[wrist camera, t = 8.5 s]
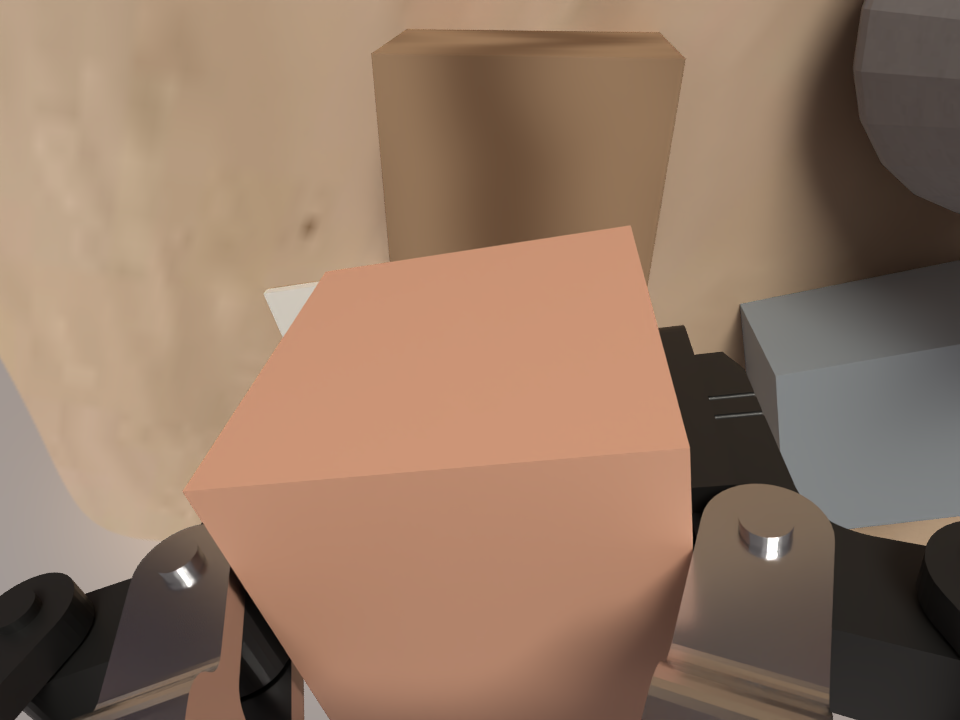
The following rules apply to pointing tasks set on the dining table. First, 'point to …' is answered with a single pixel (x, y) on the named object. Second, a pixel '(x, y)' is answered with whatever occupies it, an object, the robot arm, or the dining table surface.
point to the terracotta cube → (465, 486)
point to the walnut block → (523, 136)
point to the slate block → (864, 393)
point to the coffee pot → (912, 92)
